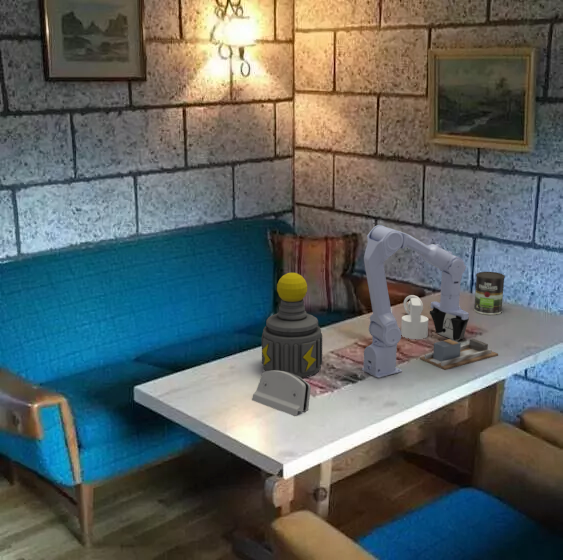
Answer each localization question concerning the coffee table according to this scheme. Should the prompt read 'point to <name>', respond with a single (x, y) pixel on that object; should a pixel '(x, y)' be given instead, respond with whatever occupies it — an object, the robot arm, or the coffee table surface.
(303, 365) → the grey tesla coil
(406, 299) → the ring around a ball
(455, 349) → the block
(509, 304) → the coffee table surface
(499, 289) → the coffee can
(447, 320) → the electrical switch
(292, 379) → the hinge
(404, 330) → the cylinder with rectangular tab
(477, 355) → the din rail board
